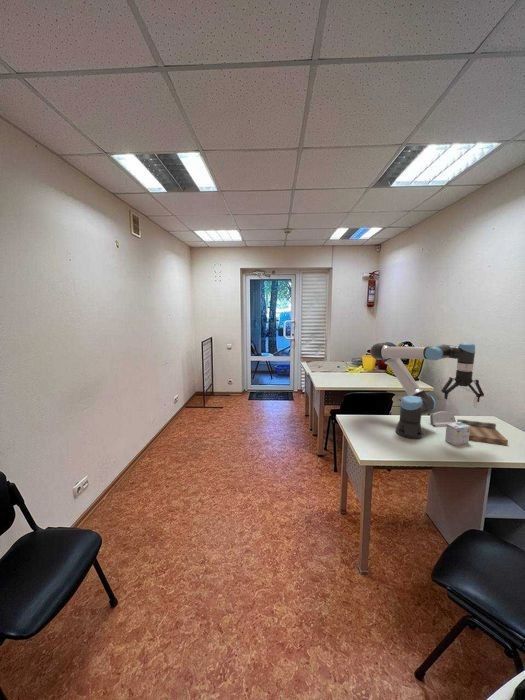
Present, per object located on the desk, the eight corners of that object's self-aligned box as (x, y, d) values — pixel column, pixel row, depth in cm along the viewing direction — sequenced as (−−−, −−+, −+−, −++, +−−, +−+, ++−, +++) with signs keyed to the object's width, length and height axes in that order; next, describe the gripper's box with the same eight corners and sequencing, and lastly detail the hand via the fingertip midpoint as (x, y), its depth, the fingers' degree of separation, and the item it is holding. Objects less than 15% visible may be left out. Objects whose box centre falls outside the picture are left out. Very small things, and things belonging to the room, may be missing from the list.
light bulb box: (458, 438, 166) (459, 421, 164) (469, 443, 159) (471, 425, 158) (444, 440, 163) (446, 423, 161) (454, 445, 157) (456, 428, 155)
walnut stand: (465, 439, 164) (466, 430, 163) (456, 427, 180) (457, 419, 180) (507, 445, 157) (508, 435, 156) (493, 432, 173) (494, 423, 172)
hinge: (435, 427, 181) (432, 412, 183) (430, 426, 186) (428, 411, 188) (458, 426, 183) (455, 411, 184) (453, 425, 187) (450, 410, 189)
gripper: (440, 369, 156) (437, 405, 159) (494, 373, 147) (489, 410, 150) (437, 367, 163) (434, 401, 166) (488, 370, 154) (484, 406, 157)
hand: (460, 405), depth 158 cm, fingers open, 13 cm apart
